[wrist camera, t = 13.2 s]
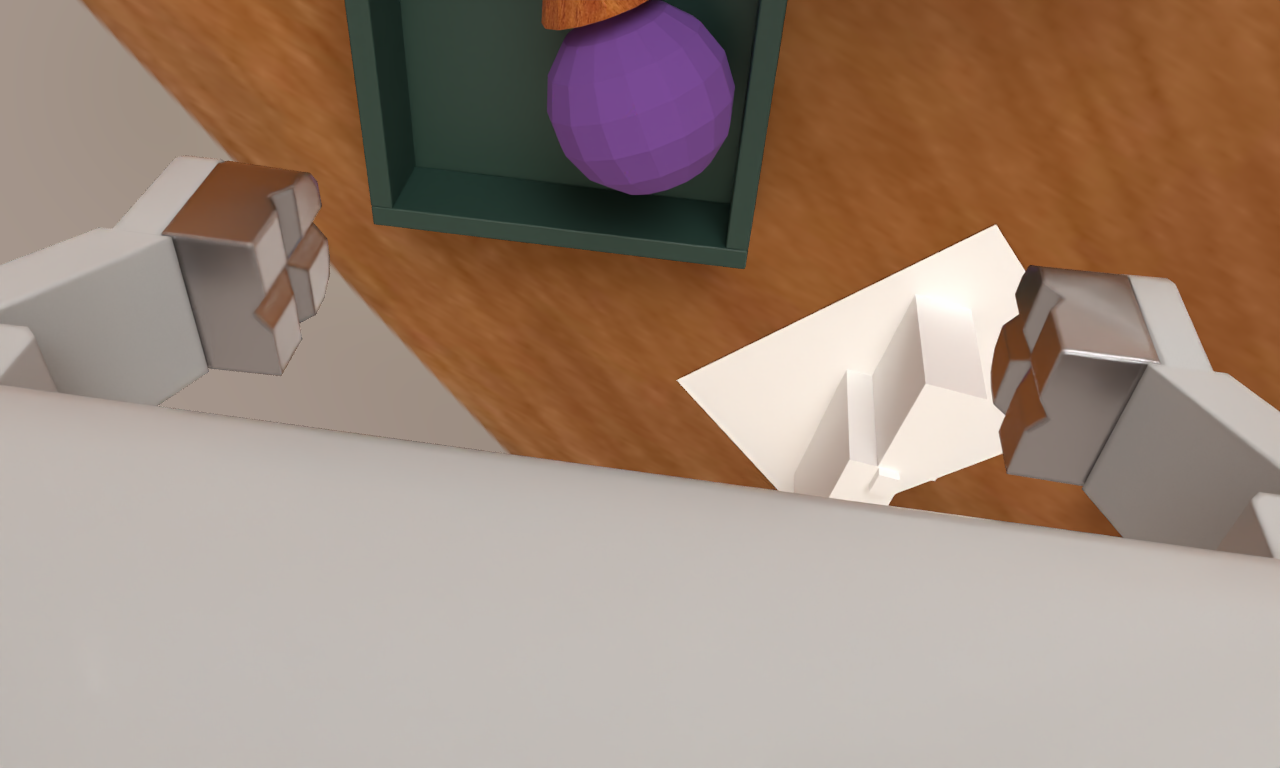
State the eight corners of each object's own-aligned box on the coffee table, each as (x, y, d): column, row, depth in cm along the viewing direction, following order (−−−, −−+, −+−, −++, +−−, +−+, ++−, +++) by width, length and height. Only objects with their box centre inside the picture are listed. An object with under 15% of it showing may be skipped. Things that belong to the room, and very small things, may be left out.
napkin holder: (812, 527, 52) (812, 624, 48) (673, 381, 46) (659, 475, 42) (1117, 410, 44) (1149, 512, 40) (993, 220, 39) (1015, 315, 35)
